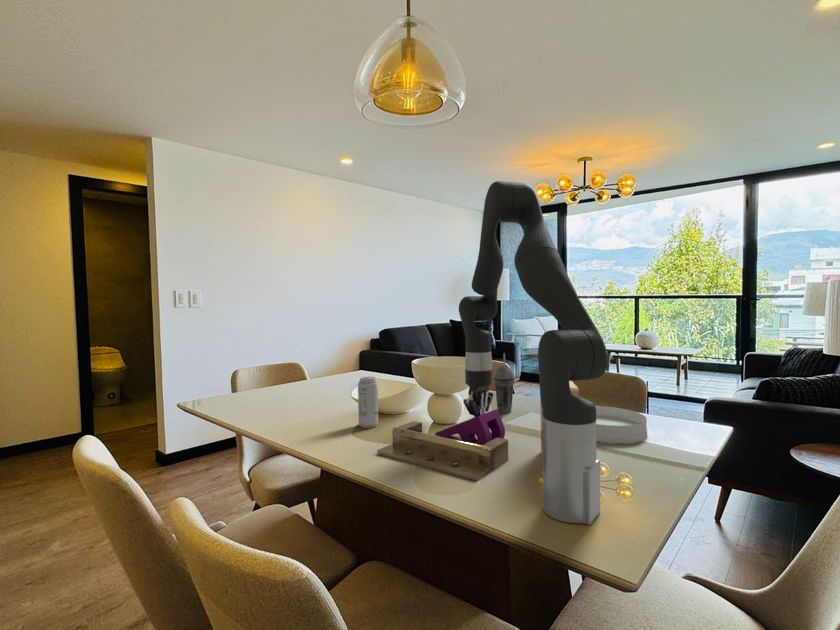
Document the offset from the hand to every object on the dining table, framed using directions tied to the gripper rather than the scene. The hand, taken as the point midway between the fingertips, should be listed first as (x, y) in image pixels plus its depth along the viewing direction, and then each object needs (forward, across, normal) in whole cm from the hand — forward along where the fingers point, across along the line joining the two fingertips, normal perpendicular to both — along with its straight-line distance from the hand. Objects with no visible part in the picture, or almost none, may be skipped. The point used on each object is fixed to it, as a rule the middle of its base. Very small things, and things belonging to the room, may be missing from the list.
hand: (479, 428), depth 124 cm
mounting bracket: (+3, -6, 0) cm, 7 cm away
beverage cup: (+3, +30, +7) cm, 31 cm away
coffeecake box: (+3, -6, -25) cm, 26 cm away
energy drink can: (+3, -10, +34) cm, 36 cm away
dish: (+3, +26, -27) cm, 37 cm away
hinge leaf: (+2, -18, 0) cm, 18 cm away
